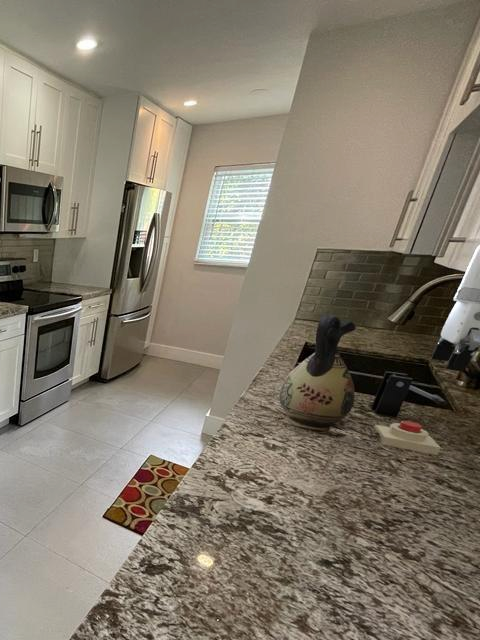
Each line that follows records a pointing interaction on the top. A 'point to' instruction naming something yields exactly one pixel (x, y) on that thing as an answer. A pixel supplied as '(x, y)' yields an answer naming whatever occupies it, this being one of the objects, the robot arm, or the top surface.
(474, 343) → the robot arm
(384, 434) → the control block
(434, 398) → the lever
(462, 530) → the top surface
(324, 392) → the ceramic jug
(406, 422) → the button
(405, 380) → the bracket
